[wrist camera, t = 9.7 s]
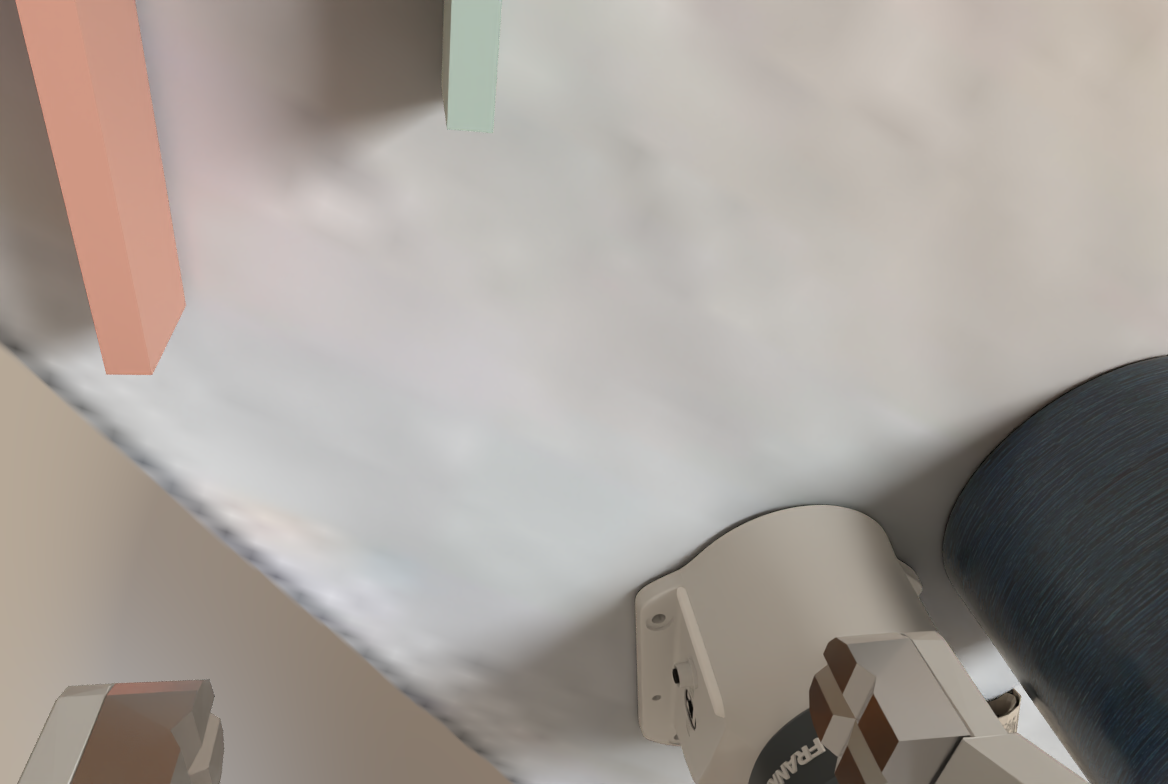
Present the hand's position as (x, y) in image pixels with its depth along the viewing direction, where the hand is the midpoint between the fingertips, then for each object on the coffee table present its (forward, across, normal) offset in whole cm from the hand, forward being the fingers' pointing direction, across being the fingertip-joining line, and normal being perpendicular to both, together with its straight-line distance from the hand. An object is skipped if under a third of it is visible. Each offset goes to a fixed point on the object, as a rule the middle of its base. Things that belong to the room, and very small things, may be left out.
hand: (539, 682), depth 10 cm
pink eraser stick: (+23, +12, -1) cm, 26 cm away
